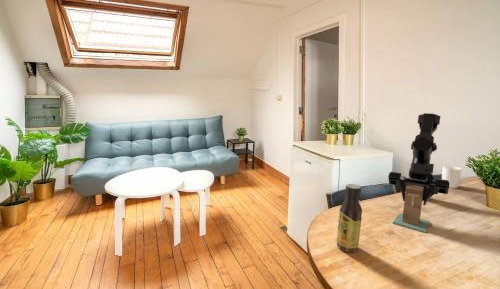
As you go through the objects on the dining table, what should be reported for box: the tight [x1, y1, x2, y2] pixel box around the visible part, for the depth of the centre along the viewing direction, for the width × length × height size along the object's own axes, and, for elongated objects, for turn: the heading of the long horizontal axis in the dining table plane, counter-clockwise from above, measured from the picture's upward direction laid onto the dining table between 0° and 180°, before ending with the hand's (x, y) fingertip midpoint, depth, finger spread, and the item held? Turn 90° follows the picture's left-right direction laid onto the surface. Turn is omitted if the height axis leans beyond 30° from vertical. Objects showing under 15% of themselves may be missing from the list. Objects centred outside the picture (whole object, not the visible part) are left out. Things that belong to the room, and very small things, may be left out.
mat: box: [392, 212, 431, 234], centre depth 96 cm, size 10×10×1 cm
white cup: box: [441, 165, 463, 189], centre depth 137 cm, size 8×8×10 cm
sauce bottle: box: [336, 183, 363, 253], centre depth 78 cm, size 6×6×20 cm
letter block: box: [402, 183, 424, 225], centre depth 95 cm, size 5×5×13 cm
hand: (413, 202), depth 93 cm, fingers open, 6 cm apart
